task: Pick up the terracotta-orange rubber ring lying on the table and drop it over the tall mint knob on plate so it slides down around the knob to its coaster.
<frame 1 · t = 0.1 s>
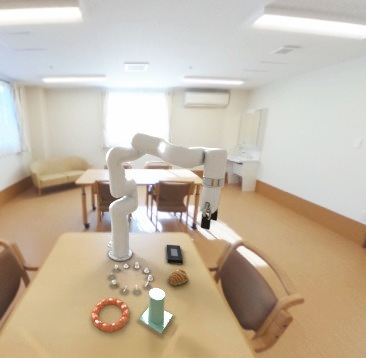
hand: (209, 224, 82), 31 cm above the table, tool pointing down, fingers open, 9 cm apart
pastry: (178, 280, 96), on the table
mint knob on plate: (156, 319, 76), on the table
vhs tape: (173, 255, 115), on the table
game piece set: (131, 278, 97), on the table
ring: (110, 314, 77), point 1 cm above the table
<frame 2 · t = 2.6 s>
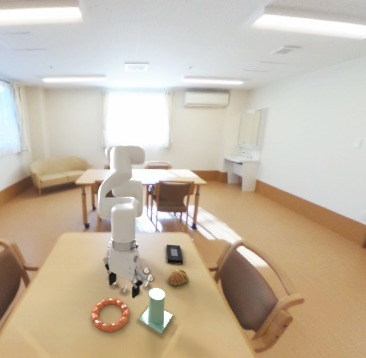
hand: (123, 289, 70), 15 cm above the table, tool pointing down, fingers open, 9 cm apart
nothing on the table moved.
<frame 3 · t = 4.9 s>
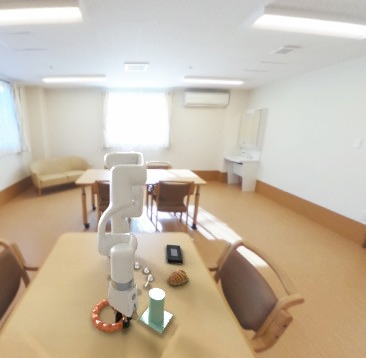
hand: (122, 324, 74), 0 cm above the table, tool pointing down, fingers closed on ring, 2 cm apart
ring: (110, 314, 77), point 1 cm above the table, touching gripper
everything else where it was.
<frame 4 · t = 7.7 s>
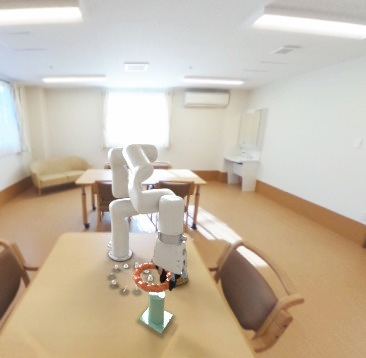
hand: (167, 285, 69), 17 cm above the table, tool pointing down, fingers closed on ring, 2 cm apart
ring: (153, 276, 72), point 18 cm above the table, touching gripper
everything else where it was.
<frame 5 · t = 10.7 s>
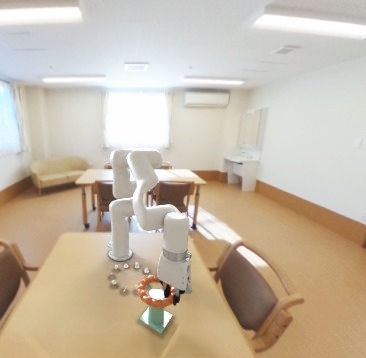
hand: (171, 300, 70), 12 cm above the table, tool pointing down, fingers closed on ring, 2 cm apart
ring: (157, 290, 73), point 13 cm above the table, touching gripper
everything else where it was.
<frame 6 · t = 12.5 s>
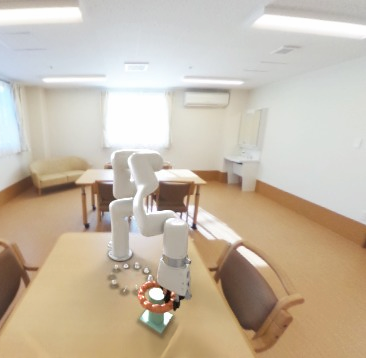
hand: (171, 305, 71), 10 cm above the table, tool pointing down, fingers closed on ring, 2 cm apart
ring: (157, 295, 74), point 11 cm above the table, touching gripper
everything else where it was.
when the fingers open (13 cm above the table, at t = 16.4 s): ring drops 11 cm, resting on mint knob on plate.
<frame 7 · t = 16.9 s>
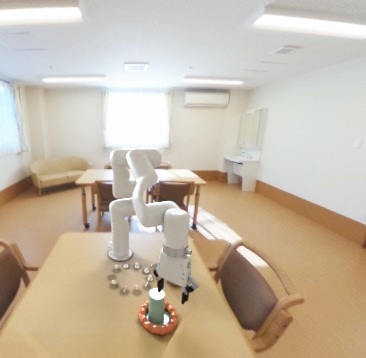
hand: (172, 295, 70), 14 cm above the table, tool pointing down, fingers open, 7 cm apart
ring: (158, 315, 75), point 2 cm above the table, touching mint knob on plate
everything else where it was.
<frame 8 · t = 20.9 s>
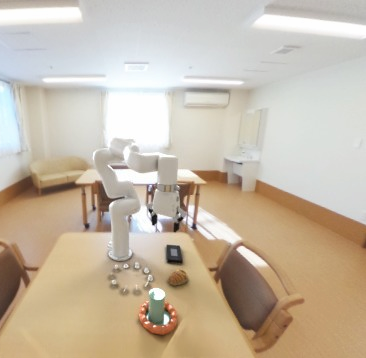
hand: (164, 227, 85), 28 cm above the table, tool pointing down, fingers open, 9 cm apart
nothing on the table moved.
at the end: ring 0.7 cm from the mint knob on plate (horizontally); ring point 2.4 cm above the table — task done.
